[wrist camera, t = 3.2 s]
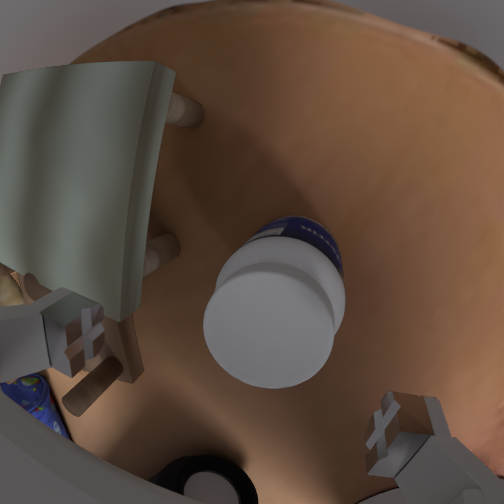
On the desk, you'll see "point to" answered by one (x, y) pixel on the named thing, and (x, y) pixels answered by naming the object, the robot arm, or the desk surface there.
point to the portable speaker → (207, 480)
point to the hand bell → (10, 292)
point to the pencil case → (35, 400)
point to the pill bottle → (277, 304)
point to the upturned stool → (105, 363)
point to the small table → (86, 175)
